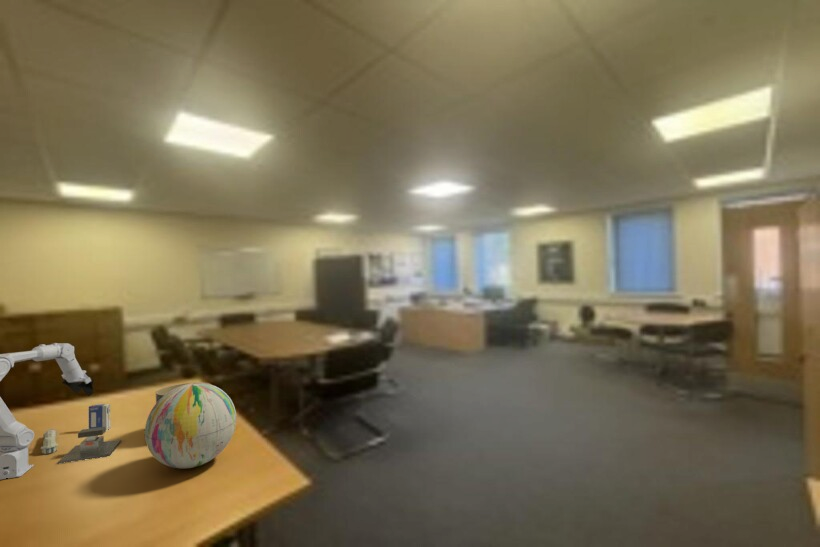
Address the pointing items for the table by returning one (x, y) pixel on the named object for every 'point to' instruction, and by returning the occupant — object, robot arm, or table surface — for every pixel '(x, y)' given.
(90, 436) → the jack column
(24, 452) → the robot arm
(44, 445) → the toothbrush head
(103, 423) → the walkman
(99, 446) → the jack base
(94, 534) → the table surface
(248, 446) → the table surface
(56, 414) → the table surface
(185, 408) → the globe
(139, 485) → the table surface
